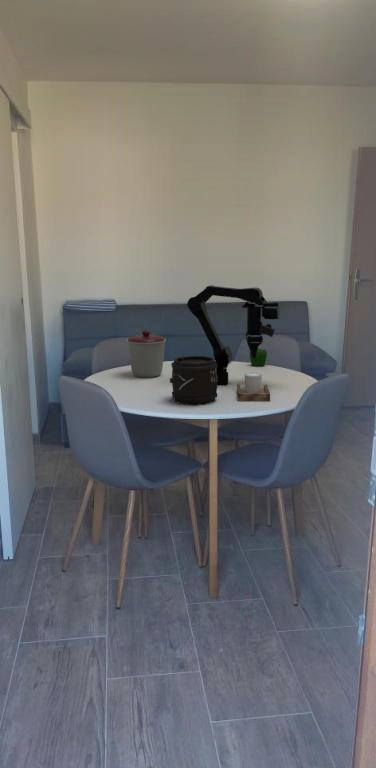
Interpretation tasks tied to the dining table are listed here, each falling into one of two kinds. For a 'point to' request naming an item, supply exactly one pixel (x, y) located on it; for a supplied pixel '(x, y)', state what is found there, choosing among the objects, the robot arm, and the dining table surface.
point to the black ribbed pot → (194, 380)
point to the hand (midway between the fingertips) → (253, 356)
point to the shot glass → (252, 382)
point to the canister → (146, 354)
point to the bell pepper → (259, 358)
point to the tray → (253, 394)
